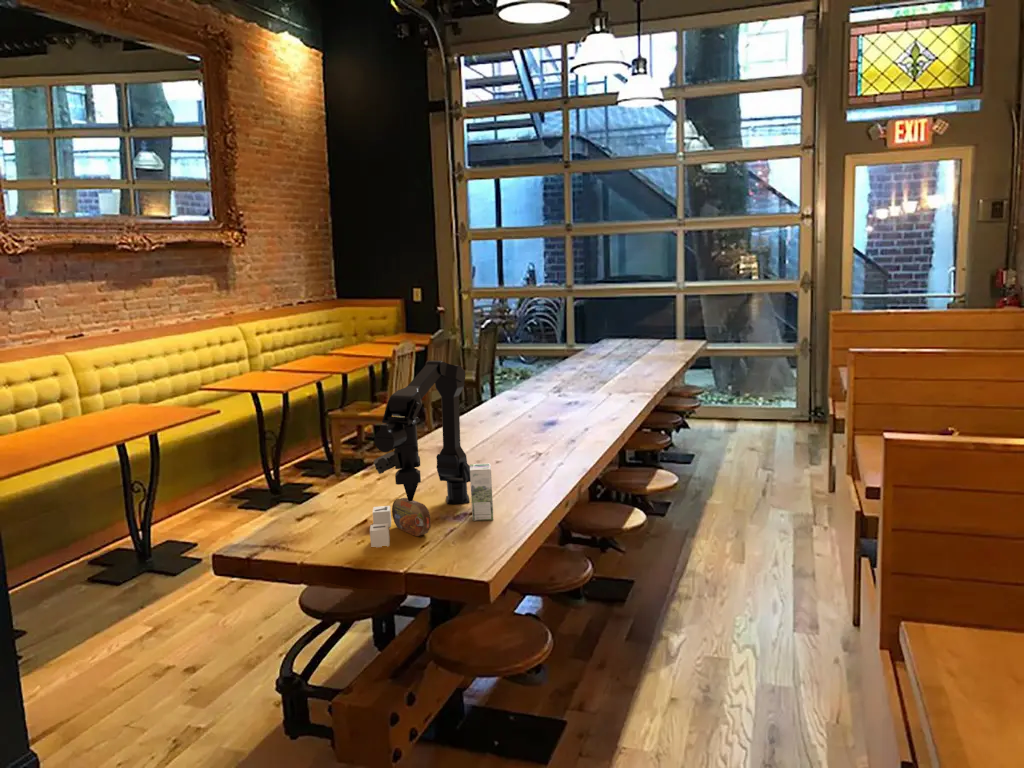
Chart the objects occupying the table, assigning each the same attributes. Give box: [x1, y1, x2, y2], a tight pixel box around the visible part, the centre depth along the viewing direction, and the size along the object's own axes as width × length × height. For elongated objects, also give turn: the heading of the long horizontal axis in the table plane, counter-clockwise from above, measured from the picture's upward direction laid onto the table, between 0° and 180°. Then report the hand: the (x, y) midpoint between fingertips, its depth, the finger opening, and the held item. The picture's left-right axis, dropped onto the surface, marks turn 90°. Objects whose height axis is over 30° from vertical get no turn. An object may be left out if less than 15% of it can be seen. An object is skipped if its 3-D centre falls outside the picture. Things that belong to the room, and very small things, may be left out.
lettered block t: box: [372, 505, 392, 528], centre depth 222 cm, size 4×4×5 cm
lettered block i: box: [369, 523, 391, 548], centre depth 208 cm, size 4×4×5 cm
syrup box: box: [469, 462, 494, 522], centre depth 223 cm, size 6×6×14 cm
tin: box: [391, 497, 432, 537], centre depth 216 cm, size 15×3×8 cm, turn 40°
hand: (410, 500), depth 215 cm, fingers closed, pressing on tin
